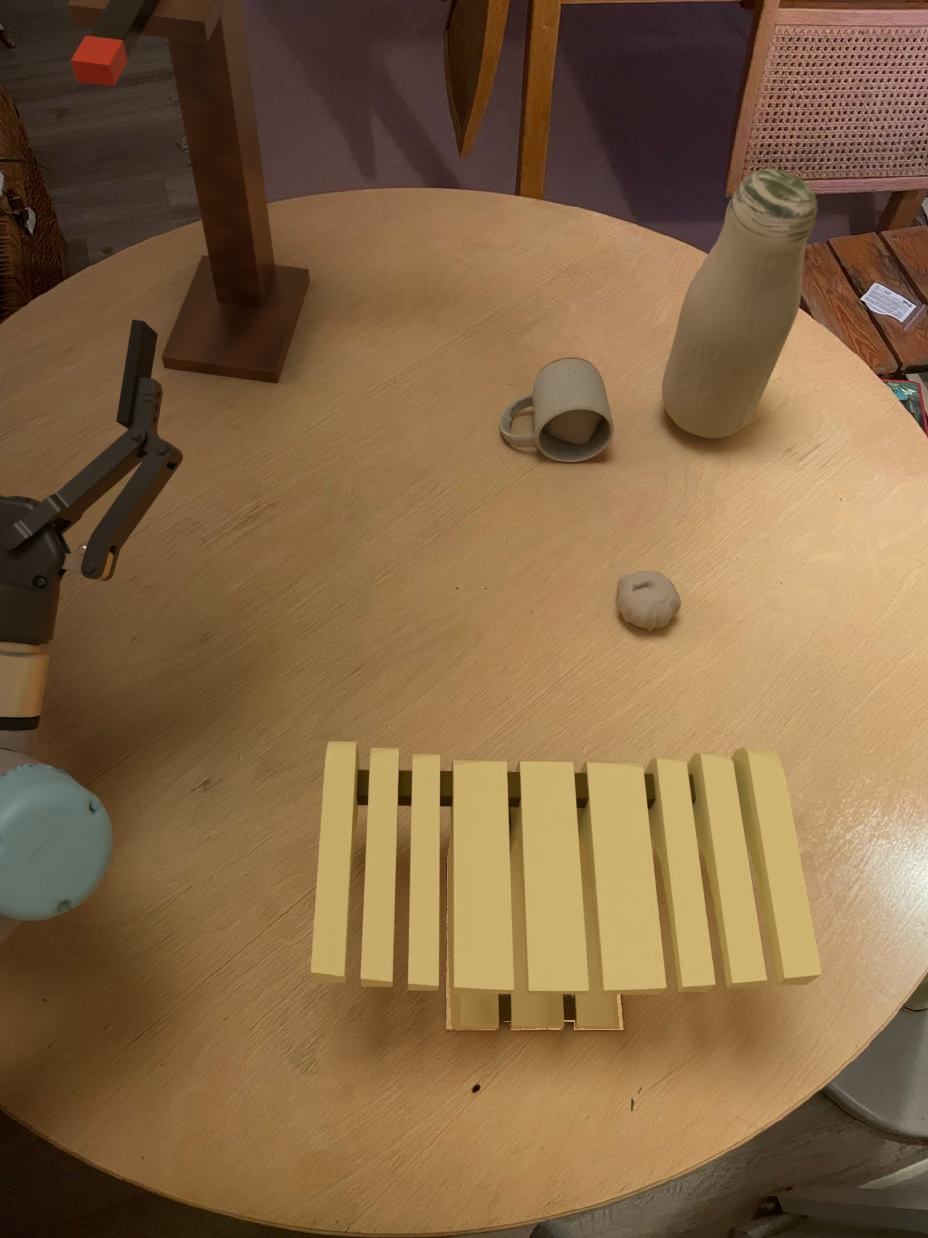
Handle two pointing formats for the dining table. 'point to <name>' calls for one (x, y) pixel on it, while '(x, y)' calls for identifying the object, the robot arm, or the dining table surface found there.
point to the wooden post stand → (222, 198)
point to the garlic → (647, 599)
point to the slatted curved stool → (564, 880)
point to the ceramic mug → (564, 412)
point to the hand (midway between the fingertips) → (41, 311)
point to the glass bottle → (740, 306)
